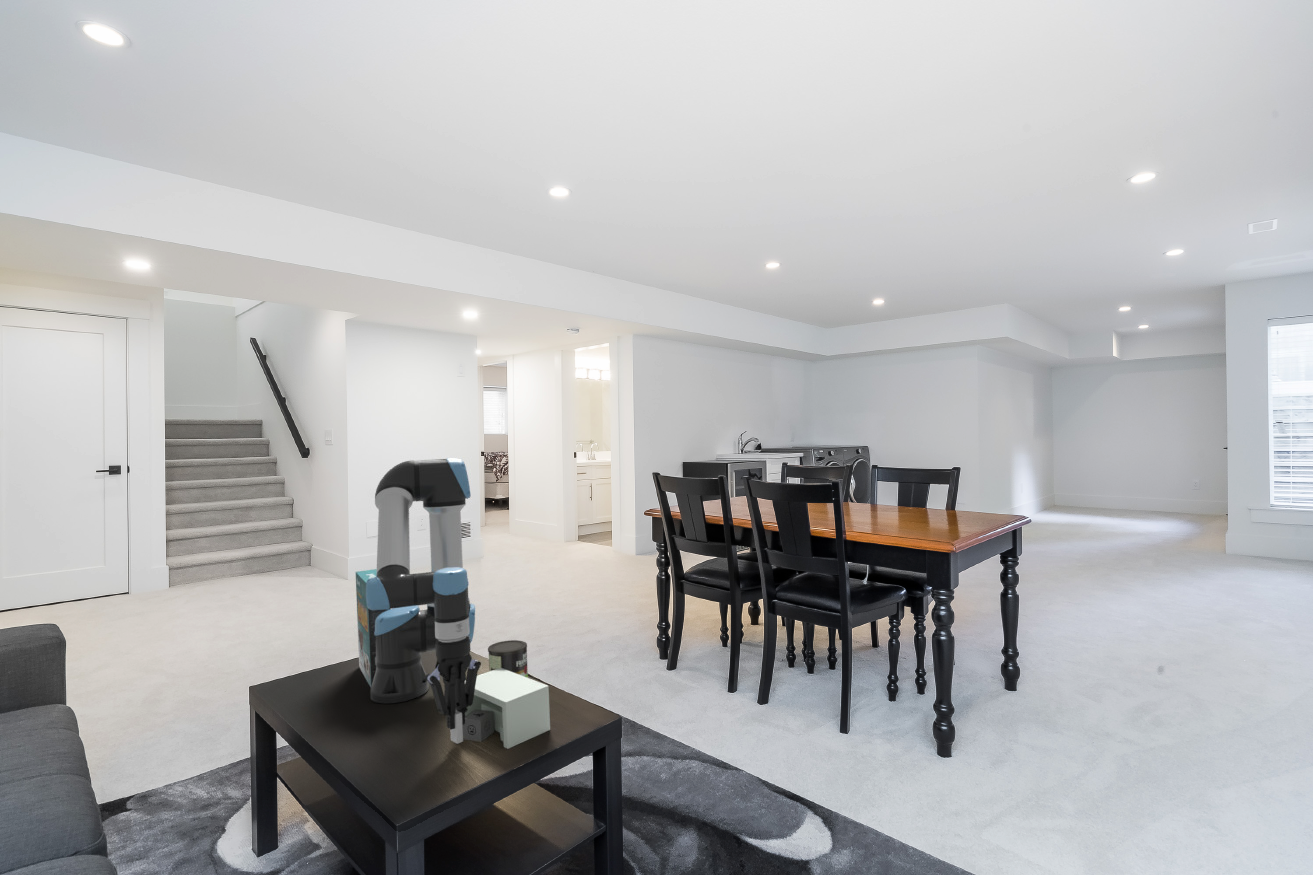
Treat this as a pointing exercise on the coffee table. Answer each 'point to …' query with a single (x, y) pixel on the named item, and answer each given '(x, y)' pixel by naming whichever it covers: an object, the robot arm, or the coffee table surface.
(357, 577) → the cake mix box
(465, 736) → the dice cube
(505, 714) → the shelf
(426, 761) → the coffee table surface
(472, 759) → the coffee table surface
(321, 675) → the coffee table surface
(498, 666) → the coffee can
